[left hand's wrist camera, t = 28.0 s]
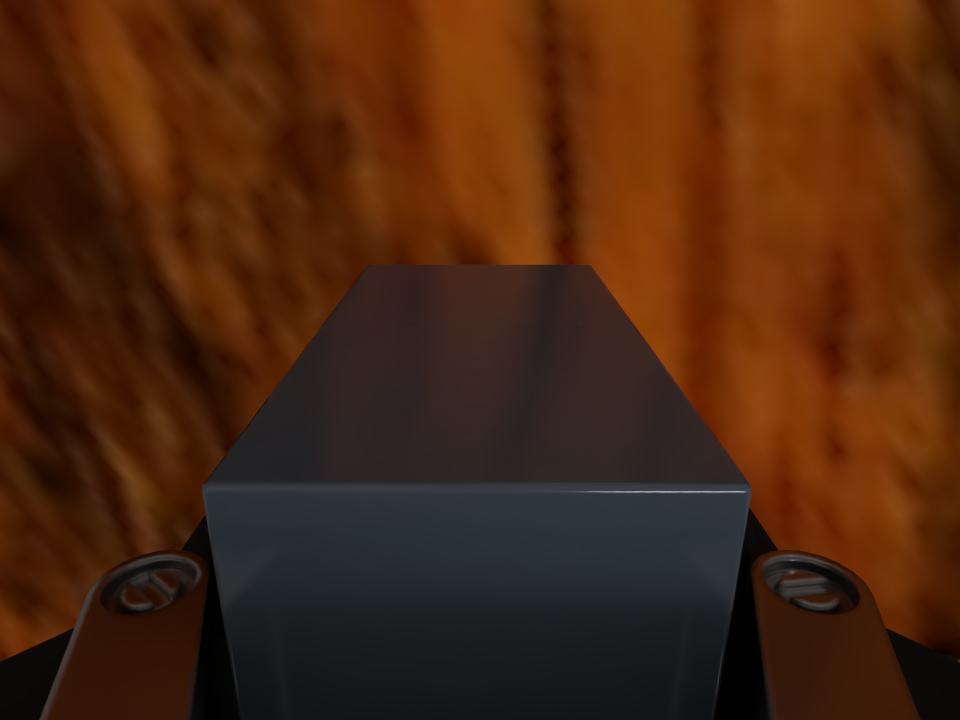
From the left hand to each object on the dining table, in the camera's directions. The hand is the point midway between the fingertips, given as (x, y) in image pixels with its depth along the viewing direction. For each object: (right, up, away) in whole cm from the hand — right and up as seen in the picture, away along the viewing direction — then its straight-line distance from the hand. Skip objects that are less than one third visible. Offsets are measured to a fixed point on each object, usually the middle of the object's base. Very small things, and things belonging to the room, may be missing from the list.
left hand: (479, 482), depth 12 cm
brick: (0, +1, +4) cm, 4 cm away
